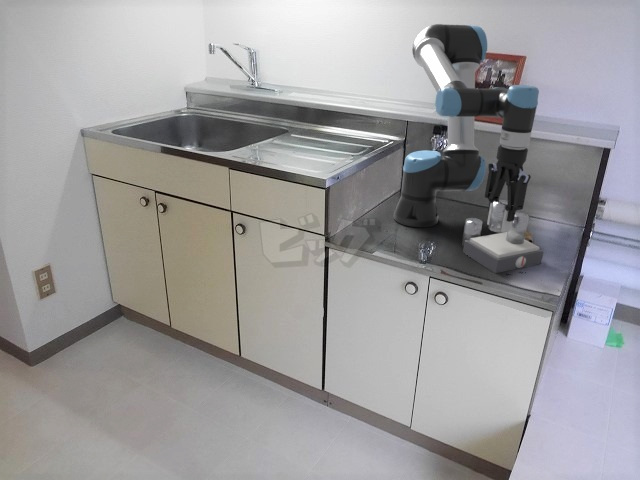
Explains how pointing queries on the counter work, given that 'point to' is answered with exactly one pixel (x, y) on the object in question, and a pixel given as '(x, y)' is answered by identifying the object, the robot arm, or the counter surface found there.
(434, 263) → the counter surface
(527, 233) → the filled bread boat
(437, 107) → the robot arm
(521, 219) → the cylinder
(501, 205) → the cylinder
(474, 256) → the scale
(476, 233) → the cylinder
